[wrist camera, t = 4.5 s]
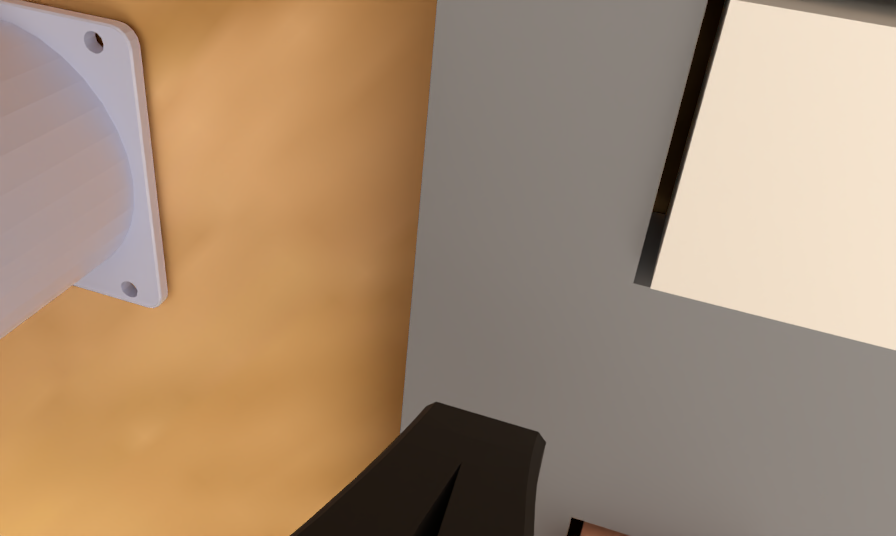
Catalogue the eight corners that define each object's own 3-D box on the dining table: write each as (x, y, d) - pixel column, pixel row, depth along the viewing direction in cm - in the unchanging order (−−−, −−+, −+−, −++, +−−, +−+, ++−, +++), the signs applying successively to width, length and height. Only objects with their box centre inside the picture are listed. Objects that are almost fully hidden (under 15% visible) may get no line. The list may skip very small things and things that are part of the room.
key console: (415, 589, 27) (379, 672, 24) (519, -313, 14) (465, -331, 11) (870, 749, 24) (882, 862, 21) (1570, -209, 11) (1815, -203, 8)
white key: (666, 213, 17) (650, 288, 14) (736, -41, 14) (730, -2, 12) (928, 273, 16) (958, 366, 13) (1058, 11, 13) (1126, 67, 11)
